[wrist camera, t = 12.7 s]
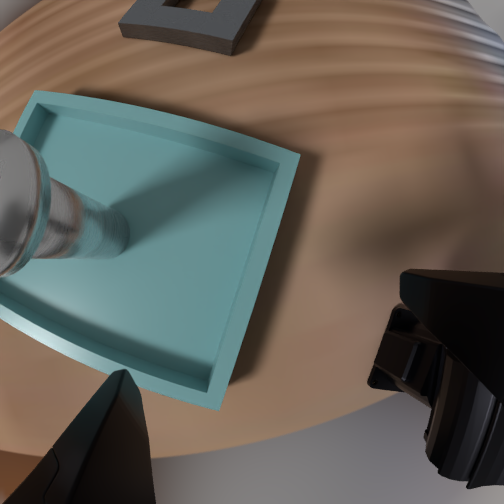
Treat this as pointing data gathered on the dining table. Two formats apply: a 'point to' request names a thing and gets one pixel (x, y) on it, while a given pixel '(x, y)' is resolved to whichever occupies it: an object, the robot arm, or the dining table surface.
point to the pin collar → (189, 23)
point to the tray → (153, 243)
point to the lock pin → (49, 214)
